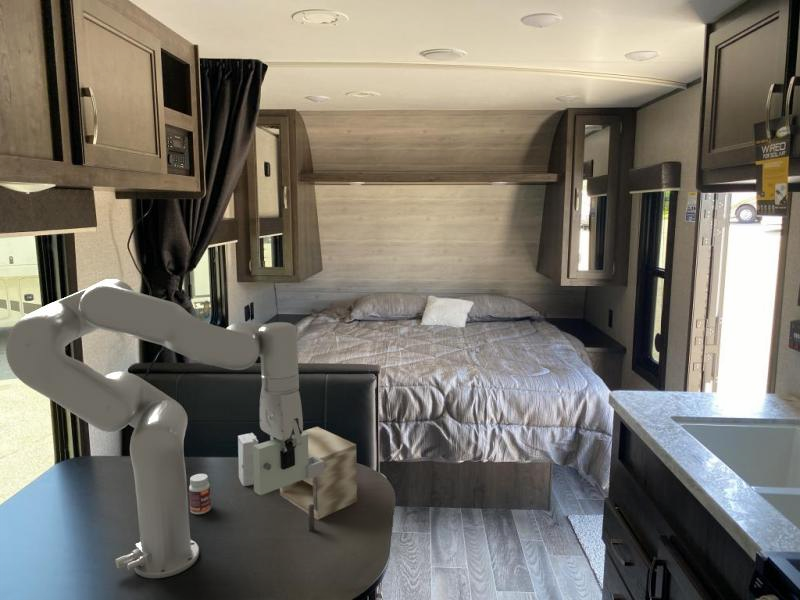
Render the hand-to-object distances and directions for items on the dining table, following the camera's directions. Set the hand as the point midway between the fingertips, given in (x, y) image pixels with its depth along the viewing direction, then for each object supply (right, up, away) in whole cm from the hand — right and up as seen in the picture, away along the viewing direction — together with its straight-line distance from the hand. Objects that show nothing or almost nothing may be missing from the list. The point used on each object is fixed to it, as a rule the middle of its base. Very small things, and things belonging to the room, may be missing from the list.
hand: (284, 464), depth 122 cm
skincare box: (-16, -13, +31) cm, 37 cm away
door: (+1, -4, +1) cm, 4 cm away
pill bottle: (-24, -16, +16) cm, 33 cm away
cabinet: (+4, -15, +19) cm, 25 cm away
